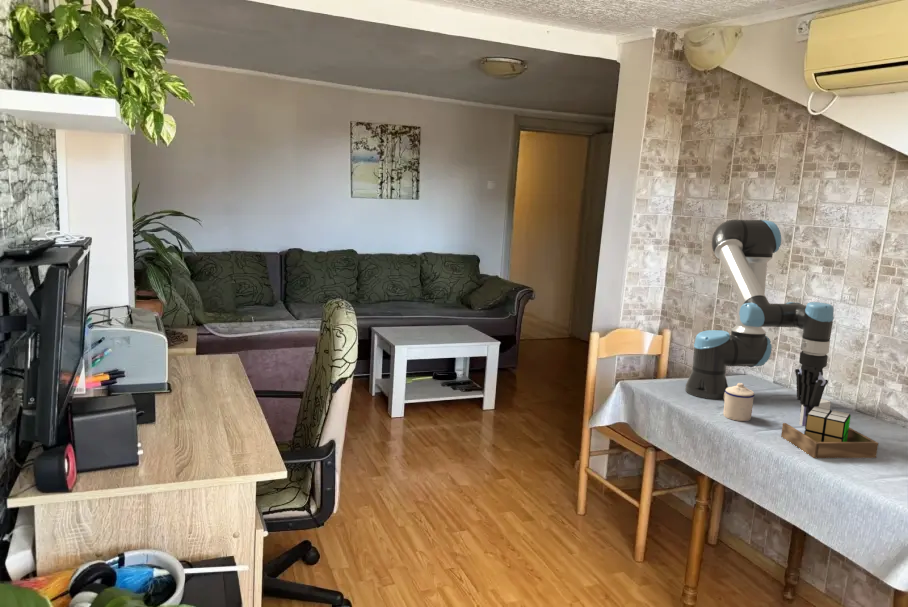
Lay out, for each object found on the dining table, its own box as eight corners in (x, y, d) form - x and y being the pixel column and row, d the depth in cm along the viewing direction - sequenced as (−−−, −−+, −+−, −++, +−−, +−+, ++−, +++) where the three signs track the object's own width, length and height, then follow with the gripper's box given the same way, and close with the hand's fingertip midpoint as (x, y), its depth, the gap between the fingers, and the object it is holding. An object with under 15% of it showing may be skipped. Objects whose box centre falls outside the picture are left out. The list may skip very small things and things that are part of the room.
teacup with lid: (757, 421, 212) (761, 387, 210) (733, 422, 210) (737, 388, 208) (735, 408, 224) (738, 376, 222) (711, 410, 222) (715, 377, 220)
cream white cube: (828, 418, 217) (830, 401, 216) (815, 420, 215) (818, 403, 214) (812, 412, 222) (815, 396, 221) (800, 414, 220) (802, 397, 219)
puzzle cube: (809, 436, 200) (813, 405, 198) (846, 445, 194) (851, 413, 192) (802, 445, 192) (806, 413, 191) (840, 455, 186) (845, 422, 184)
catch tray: (781, 436, 199) (782, 423, 198) (838, 436, 201) (840, 422, 200) (813, 458, 183) (815, 443, 182) (876, 457, 185) (878, 443, 184)
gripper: (790, 347, 204) (781, 417, 209) (816, 358, 192) (806, 432, 196) (812, 347, 205) (803, 417, 209) (839, 358, 192) (829, 432, 196)
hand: (804, 425), depth 202 cm, fingers closed
